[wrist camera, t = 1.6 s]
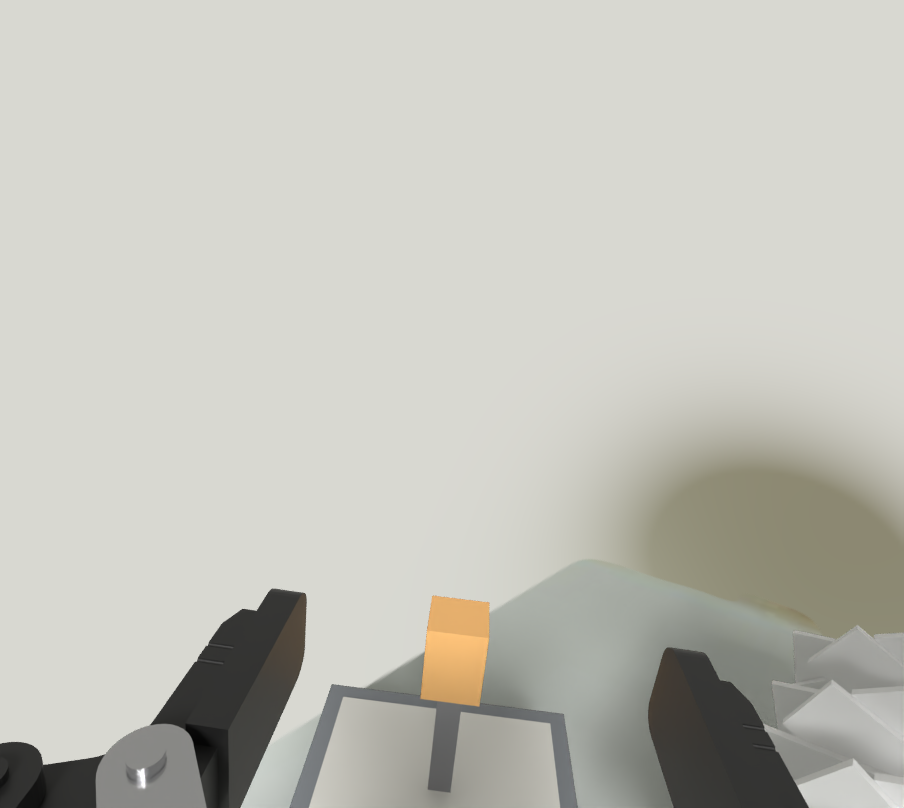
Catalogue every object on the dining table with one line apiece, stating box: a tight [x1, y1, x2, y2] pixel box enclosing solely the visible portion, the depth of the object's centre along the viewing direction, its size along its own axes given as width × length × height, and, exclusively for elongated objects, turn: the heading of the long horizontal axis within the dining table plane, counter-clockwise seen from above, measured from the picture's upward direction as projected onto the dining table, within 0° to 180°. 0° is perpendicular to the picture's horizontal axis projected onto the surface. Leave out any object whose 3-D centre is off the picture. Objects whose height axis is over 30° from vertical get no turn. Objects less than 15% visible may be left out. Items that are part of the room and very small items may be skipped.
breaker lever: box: [420, 596, 489, 793], centre depth 27 cm, size 2×3×11 cm
